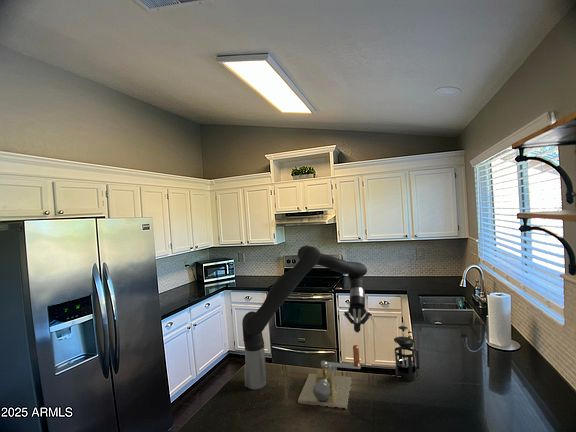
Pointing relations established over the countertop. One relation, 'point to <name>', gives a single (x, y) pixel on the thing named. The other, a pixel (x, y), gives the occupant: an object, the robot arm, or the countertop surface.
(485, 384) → the countertop surface
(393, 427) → the countertop surface
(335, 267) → the robot arm
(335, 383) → the valve
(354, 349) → the valve lever
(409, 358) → the french press
